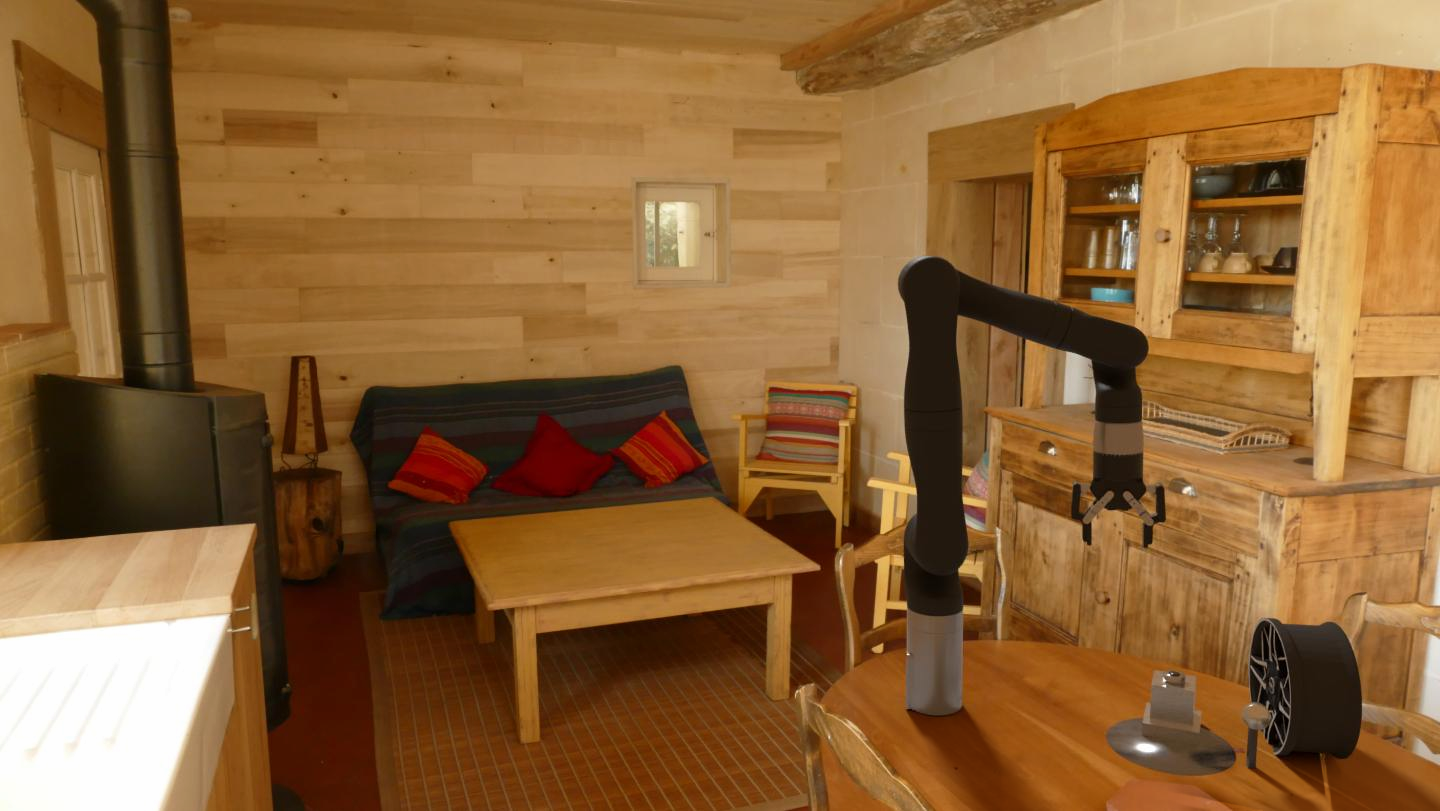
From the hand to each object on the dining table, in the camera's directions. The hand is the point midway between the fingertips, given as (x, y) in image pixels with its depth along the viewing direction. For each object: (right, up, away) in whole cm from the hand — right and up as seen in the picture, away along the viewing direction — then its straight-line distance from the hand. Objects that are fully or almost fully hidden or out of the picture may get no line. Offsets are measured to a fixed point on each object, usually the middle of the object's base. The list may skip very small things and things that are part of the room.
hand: (1117, 545), depth 166 cm
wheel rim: (+23, -30, -11) cm, 39 cm away
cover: (+6, -28, -6) cm, 29 cm away
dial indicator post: (+12, -31, -18) cm, 38 cm away
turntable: (+4, -30, -11) cm, 32 cm away
